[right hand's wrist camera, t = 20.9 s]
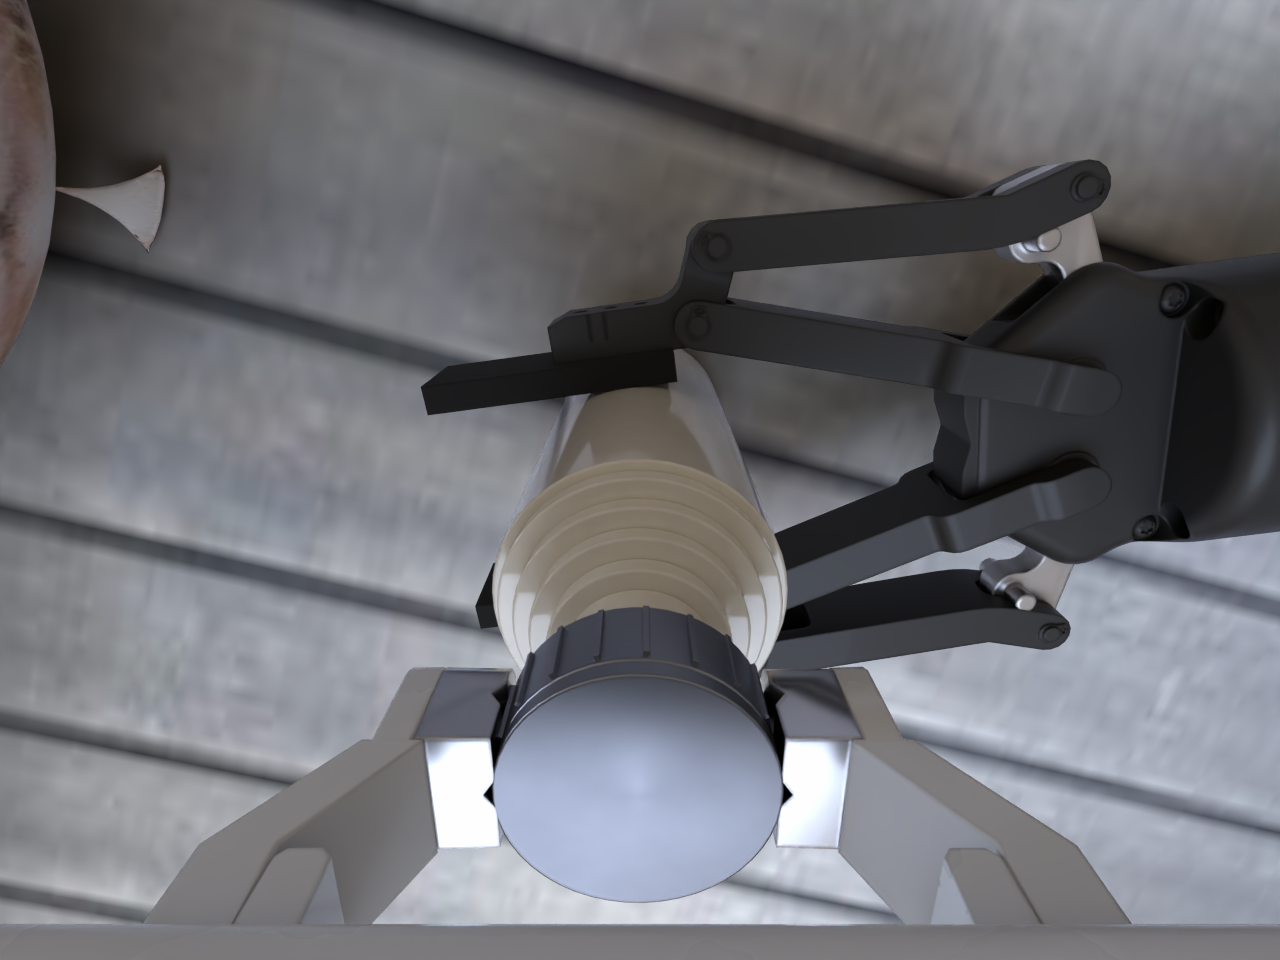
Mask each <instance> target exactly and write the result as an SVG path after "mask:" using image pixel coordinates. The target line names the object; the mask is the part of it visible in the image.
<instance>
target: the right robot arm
mask: <svg viewBox="0 0 1280 960" xmlns="http://www.w3.org/2000/svg"><path fill="white" fill-rule="evenodd" d="M760 682H761V686H762V690H763V694H764V698H765V702H766V705H767V709H768V713H769V716H771V717H772V718H773V719H774V731H773V736H774V740H775V744H776V748H777V751H778V755H779V759H780V764H781V768H782V775H783V783H784V794H783V803H782V808H781V811H780V815H779V818H778V822H777V824H776V826H775V828H774V830H773V835H774V839H775V844H776V847H783V848H818V849H839V851H838V852H839V853H840V854H841V855H842V857H843V858H844V859H845V860H846V861H847V862H848V863H849V864H850V865H851V866H852V867H853V868H854V870H855V871H856V872H857V873H858V874H859V875H860V876H861V877H862V878H863V879H864V880H865V881H866V883H867V884H868V885H869V886H870V887H871V888H872V889H873V890H874V891H875V892H876V893H877V894H878V896H879V897H880V898H881V899H882V900H883V901H884V902H885V903H886V904H887V905H888V906H889V907H890V909H891V910H892V911H893V912H894V913H895V914H896V915H897V916H898V917H899V918H900V919H901V921H902V922H903V923H904V924H372V923H373V922H374V920H375V919H376V918H377V917H378V916H379V915H380V914H381V913H382V912H383V911H384V910H385V909H386V908H387V907H388V905H389V904H390V903H391V902H392V901H393V900H394V899H395V898H396V897H397V896H398V895H399V894H400V893H401V891H402V890H403V889H404V888H405V887H406V886H407V885H408V884H409V883H410V882H411V881H412V880H413V879H414V878H415V876H416V875H417V874H418V873H419V872H420V871H421V870H422V869H423V868H424V867H425V866H426V865H427V864H428V862H429V861H430V860H431V859H432V858H433V857H434V856H435V855H436V854H437V849H457V848H491V847H500V845H501V840H502V836H503V831H502V829H501V826H500V824H499V821H498V817H497V812H496V808H495V806H494V804H493V799H492V783H493V779H494V773H493V771H494V765H495V761H496V758H497V754H498V750H499V747H500V743H501V742H499V741H498V735H499V732H500V728H501V725H502V717H503V714H504V710H505V706H506V703H507V701H508V699H509V695H510V692H511V688H512V684H513V685H516V677H515V673H514V671H513V669H497V668H450V667H448V668H444V667H414V668H412V669H411V670H409V671H408V672H407V674H406V676H405V677H404V679H403V681H402V683H401V685H400V687H399V689H398V691H397V693H396V695H395V697H394V698H393V700H392V702H391V704H390V706H389V708H388V710H387V712H386V714H385V716H384V718H383V719H382V721H381V723H380V725H379V727H378V729H377V731H376V733H375V735H374V737H373V739H372V740H361V741H359V742H358V743H356V744H354V745H353V746H351V747H350V748H348V749H347V750H345V751H344V752H342V753H340V754H339V755H337V756H336V757H334V758H333V759H331V760H330V761H328V762H326V763H325V764H323V765H322V766H320V767H319V768H317V769H316V770H314V771H313V772H311V773H309V774H308V775H306V776H305V777H303V778H302V779H300V780H299V781H297V782H295V783H294V784H292V785H291V786H289V787H288V788H286V789H285V790H283V791H281V792H280V793H278V794H277V795H275V796H274V797H272V798H271V799H269V800H267V801H266V802H264V803H263V804H261V805H260V806H258V807H257V808H255V809H253V810H252V811H250V812H249V813H247V814H246V815H244V816H243V817H241V818H239V819H238V820H236V821H235V822H233V823H232V824H230V825H229V826H227V827H225V828H224V829H222V830H221V831H219V832H218V833H216V834H215V835H213V836H211V837H210V838H208V839H207V840H205V841H204V842H202V843H201V844H199V845H198V847H197V848H196V849H195V851H194V852H193V854H192V855H191V856H190V858H189V859H188V861H187V862H186V863H185V865H184V866H183V868H182V869H181V870H180V872H179V873H178V875H177V876H176V877H175V879H174V880H173V882H172V883H171V884H170V886H169V887H168V889H167V890H166V891H165V893H164V894H163V896H162V897H161V898H160V900H159V901H158V903H157V904H156V905H155V907H154V908H153V910H152V911H151V912H150V914H149V915H148V917H147V918H146V919H145V921H144V922H143V924H0V960H1280V924H1132V923H1131V922H1130V921H1129V919H1128V918H1127V916H1126V915H1125V913H1124V912H1123V911H1122V909H1121V908H1120V906H1119V905H1118V903H1117V902H1116V901H1115V899H1114V898H1113V896H1112V895H1111V893H1110V892H1109V891H1108V889H1107V888H1106V886H1105V885H1104V883H1103V882H1102V881H1101V879H1100V878H1099V876H1098V875H1097V873H1096V872H1095V871H1094V869H1093V868H1092V866H1091V865H1090V863H1089V862H1088V861H1087V859H1086V858H1085V856H1084V855H1083V853H1082V852H1081V851H1080V849H1079V848H1078V846H1077V845H1075V844H1074V843H1072V842H1071V841H1069V840H1068V839H1066V838H1064V837H1063V836H1061V835H1060V834H1058V833H1057V832H1055V831H1054V830H1052V829H1051V828H1049V827H1048V826H1046V825H1044V824H1043V823H1041V822H1040V821H1038V820H1037V819H1035V818H1034V817H1032V816H1031V815H1029V814H1028V813H1026V812H1024V811H1023V810H1021V809H1020V808H1018V807H1017V806H1015V805H1014V804H1012V803H1011V802H1009V801H1008V800H1006V799H1004V798H1003V797H1001V796H1000V795H998V794H997V793H995V792H994V791H992V790H991V789H989V788H987V787H986V786H984V785H983V784H981V783H980V782H978V781H977V780H975V779H974V778H972V777H971V776H969V775H967V774H966V773H964V772H963V771H961V770H960V769H958V768H957V767H955V766H954V765H952V764H951V763H949V762H947V761H946V760H944V759H943V758H941V757H940V756H938V755H937V754H935V753H934V752H932V751H931V750H929V749H927V748H926V747H924V746H923V745H921V744H920V743H918V742H917V741H915V740H904V739H903V737H902V735H901V733H900V731H899V729H898V727H897V725H896V724H895V722H894V720H893V718H892V716H891V714H890V712H889V710H888V708H887V706H886V704H885V702H884V701H883V699H882V697H881V695H880V693H879V691H878V689H877V687H876V685H875V683H874V681H873V679H872V678H871V676H870V674H869V672H868V670H866V669H865V668H864V667H844V668H829V669H775V670H762V675H761V681H760Z"/></svg>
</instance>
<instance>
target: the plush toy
mask: <svg viewBox="0 0 1280 960" xmlns="http://www.w3.org/2000/svg"><path fill="white" fill-rule="evenodd" d="M55 183H56V150H55V137H54V124H53V111H52V105H51V100H50V94H49V88H48V82H47V77H46V71H45V65H44V60H43V55H42V52H41V48H40V45H39V41H38V38H37V34H36V31H35V27H34V24H33V20H32V17H31V14H30V10H29V7H28V4H27V0H0V367H1V365H2V363H3V362H4V360H5V358H6V356H7V355H8V353H9V351H10V350H11V348H12V346H13V344H14V343H15V341H16V339H17V337H18V335H19V333H20V331H21V328H22V326H23V324H24V321H25V319H26V317H27V314H28V312H29V310H30V308H31V305H32V303H33V300H34V298H35V295H36V292H37V289H38V285H39V281H40V278H41V274H42V270H43V266H44V263H45V259H46V255H47V251H48V248H49V244H50V236H51V228H52V220H53V212H54V204H55V190H56V191H59V192H63V193H66V194H68V195H71V196H75V197H77V198H79V199H82V200H84V201H87V202H89V203H91V204H93V205H95V206H97V207H98V208H100V209H102V210H103V211H105V212H107V213H108V214H110V215H111V216H112V217H114V218H115V219H117V220H118V221H119V222H120V223H121V224H123V225H124V226H125V227H126V228H127V229H128V230H129V231H130V232H131V233H132V234H133V235H134V236H135V237H136V238H137V240H138V241H139V242H140V243H141V244H142V245H143V246H144V247H145V248H146V250H147V252H148V253H149V250H150V247H151V244H152V243H153V240H154V238H155V235H156V233H157V229H158V227H159V224H160V221H161V215H162V208H163V201H164V191H165V179H164V174H163V171H162V168H161V165H160V166H159V167H157V168H156V169H154V170H152V171H150V172H148V173H146V174H144V175H141V176H139V177H137V178H134V179H131V180H128V181H125V182H121V183H119V184H114V185H108V186H102V187H95V188H67V187H55Z"/></svg>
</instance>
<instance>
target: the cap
mask: <svg viewBox="0 0 1280 960" xmlns="http://www.w3.org/2000/svg"><path fill="white" fill-rule="evenodd" d="M773 731H774V719H773V718H772V717H771V716H769V713H768V709H767V705H766V702H765V698H764V694H763V690H762V686H761V682H760V678H759V674H758V670H757V667H756V665H755V663H753V664H750V662H749V661H748V659H747V658H746V657H745V655H744V654H743V653H742V652H741V651H740V649H739V648H738V647H737V646H736V645H735V644H734V643H733V642H732V640H731V637H730V636H729V635H728V634H726V635H725V636H724V635H723V634H721V633H720V632H719V631H717V630H716V629H714V628H713V627H711V626H709V625H707V624H706V623H704V622H702V621H700V620H698V619H695V618H694V616H693V615H691V614H688V615H685V614H682V613H678V612H674V611H670V610H665V609H658V608H651V607H649V606H646V605H643V607H627V608H617V609H611V610H606V611H604V609H602V610H598V613H595V614H592V615H589V616H586V617H583V618H581V619H579V620H577V621H574V622H572V623H570V624H568V625H567V626H565V627H563V626H560V627H558V628H557V632H556V633H554V634H553V635H552V636H551V637H549V638H548V639H547V640H546V641H545V642H544V643H542V644H541V645H540V646H539V648H538V649H537V650H536V651H535V652H534V653H532V652H530V653H529V654H528V655H527V659H526V663H525V666H524V668H523V669H522V672H521V674H520V676H519V678H518V681H517V684H516V685H513V684H512V688H511V692H510V695H509V699H508V701H507V703H506V706H505V710H504V714H503V717H502V725H501V728H500V732H499V735H498V741H499V742H501V743H500V747H499V750H498V754H497V758H496V761H495V765H494V771H493V773H494V779H493V783H492V799H493V804H494V806H495V808H496V812H497V817H498V821H499V824H500V826H501V829H502V831H503V832H504V834H505V836H506V837H507V839H508V841H509V842H510V844H511V845H512V846H513V848H514V849H515V850H516V851H517V853H518V854H519V855H520V856H521V857H522V858H523V859H524V860H525V861H526V862H527V863H528V864H529V865H530V866H532V867H533V868H534V869H536V870H537V871H538V872H540V873H541V874H542V875H544V876H545V877H547V878H549V879H550V880H552V881H554V882H556V883H557V884H559V885H561V886H564V887H566V888H568V889H570V890H573V891H575V892H578V893H581V894H584V895H588V896H591V897H595V898H600V899H604V900H610V901H618V902H633V903H647V902H659V901H666V900H672V899H678V898H682V897H685V896H689V895H692V894H696V893H698V892H701V891H703V890H706V889H709V888H711V887H713V886H715V885H717V884H719V883H721V882H723V881H725V880H726V879H728V878H729V877H731V876H732V875H734V874H735V873H737V872H738V871H740V870H741V869H742V868H743V867H744V866H746V865H747V864H748V863H749V862H750V861H751V860H752V859H753V858H754V857H755V856H756V855H757V854H758V853H759V851H760V850H761V849H762V848H763V847H764V845H765V844H766V842H767V841H768V839H769V838H770V836H771V834H772V832H773V830H774V828H775V826H776V824H777V822H778V818H779V815H780V811H781V808H782V803H783V794H784V783H783V775H782V768H781V764H780V759H779V755H778V751H777V748H776V744H775V740H774V736H773Z"/></svg>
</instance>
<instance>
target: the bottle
mask: <svg viewBox="0 0 1280 960" xmlns="http://www.w3.org/2000/svg"><path fill="white" fill-rule="evenodd" d="M674 356H675V364H676V372H677V381H678V382H672V383H665V384H657V385H650V386H642V387H635V388H627V389H620V390H613V391H605V392H598V393H590V394H583V395H575V396H568V397H566V398H565V400H564V402H563V405H562V407H561V409H560V411H559V414H558V416H557V418H556V420H555V423H554V425H553V427H552V430H551V432H550V434H549V436H548V439H547V441H546V443H545V445H544V448H543V450H542V452H541V455H540V457H539V459H538V461H537V464H536V466H535V468H534V470H533V473H532V475H531V477H530V479H529V482H528V484H527V486H526V489H525V491H524V493H523V495H522V498H521V500H520V502H519V504H518V507H517V509H516V511H515V513H514V516H513V518H512V520H511V523H510V525H509V527H508V529H507V532H506V534H505V536H504V538H503V541H502V543H501V546H500V549H499V552H498V554H497V557H496V562H495V567H494V572H493V585H492V595H493V605H494V611H495V615H496V619H497V623H498V626H499V629H500V631H501V633H502V636H503V639H504V641H505V644H506V646H507V649H508V651H509V653H510V655H511V656H512V658H513V660H514V662H515V663H516V665H517V667H518V668H519V669H520V670H521V672H522V669H523V668H524V666H525V663H526V659H527V655H528V654H529V653H530V652H532V653H534V652H535V651H536V650H537V649H538V648H539V646H540V645H541V644H542V643H544V642H545V641H546V640H547V639H548V638H549V637H551V636H552V635H553V634H554V633H556V632H557V628H558V627H560V626H563V627H565V626H567V625H568V624H570V623H572V622H574V621H577V620H579V619H581V618H583V617H586V616H589V615H592V614H595V613H598V610H602V609H604V611H606V610H611V609H617V608H627V607H643V605H646V606H649V607H651V608H658V609H665V610H670V611H674V612H678V613H682V614H685V615H688V614H691V615H693V616H694V618H695V619H698V620H700V621H702V622H704V623H706V624H707V625H709V626H711V627H713V628H714V629H716V630H717V631H719V632H720V633H721V634H723V635H724V636H725V635H726V634H728V635H729V636H730V637H731V640H732V642H733V643H734V644H735V645H736V646H737V647H738V648H739V649H740V651H741V652H742V653H743V654H744V655H745V657H746V658H747V659H748V661H749V662H750V664H753V663H755V665H756V667H757V670H758V672H759V671H760V669H761V668H762V667H763V665H764V664H765V662H766V660H767V658H768V657H769V655H770V653H771V651H772V649H773V647H774V644H775V641H776V640H777V637H778V635H779V632H780V629H781V627H782V624H783V621H784V616H785V612H786V607H787V595H788V583H787V571H786V567H785V563H784V559H783V554H782V552H781V549H780V547H779V544H778V542H777V539H776V537H775V535H774V532H773V530H772V527H771V525H770V522H769V520H768V518H767V515H766V513H765V510H764V508H763V505H762V503H761V501H760V498H759V496H758V493H757V491H756V488H755V486H754V484H753V481H752V479H751V476H750V474H749V472H748V469H747V467H746V464H745V462H744V459H743V457H742V455H741V452H740V450H739V447H738V445H737V442H736V440H735V438H734V435H733V433H732V430H731V428H730V425H729V423H728V421H727V418H726V416H725V413H724V411H723V409H722V406H721V404H720V401H719V399H718V396H717V394H716V392H715V389H714V387H713V384H712V382H711V380H710V378H709V376H708V375H707V373H706V371H705V370H704V369H703V367H702V366H701V365H700V364H699V363H698V362H697V361H696V360H695V359H694V358H693V357H692V356H691V355H689V354H688V353H687V352H686V351H684V350H682V349H676V350H674Z"/></svg>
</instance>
